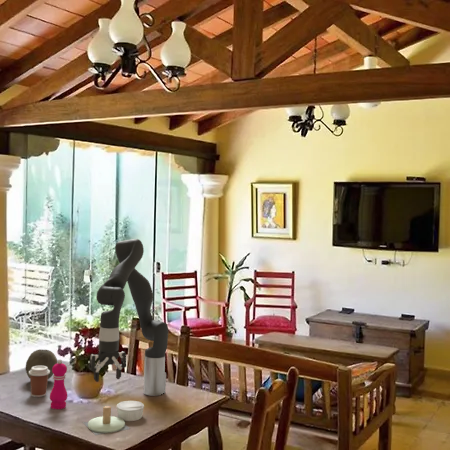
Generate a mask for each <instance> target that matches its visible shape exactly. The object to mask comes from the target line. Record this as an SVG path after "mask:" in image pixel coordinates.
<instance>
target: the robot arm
mask: <svg viewBox="0 0 450 450" xmlns="http://www.w3.org/2000/svg"><path fill="white" fill-rule="evenodd" d="M114 248H115V255H116V257H117V260H118V262H119V263H118V265H116V266H115V267H114V268H113V269H112V271H111V273H110V275H109V277H108V279H107V280H106V281H104V283H103V284H102V285H101V286H99V288H98V290H97V291H96V297H95V298H96V301H97V303H99V304H100V305H101V306H102V305H103V306H113V307H112V309H110V310H104V311H102V312H101V313H100V327H99V332H98V333H99V334H98V335H99V336H98V354H93V353H91V354H90V355H89V366H88V370H90V371H91V372H93V380H94V381H95V382H96V383H99V382H100V370H101V368H104V366H113V365H114V366H115V378H116V379H117V380H120V379H121V378H122V369H125V368H127V353H126V351H123V350H122V351H121V352H119V347H120V345H119V343H120V328H119V327H120V316H121V315H120V314H121V312H122V311H121V310H122V307H123V304H124V301H125V298H126V293H125V291H124V290H125V289H124V288H125V287H126V285H127V284H128V289H129V292H130V295H131V297H132V300H133V303H134V306H135V310H136V313H137V316H138V319H139V320H138V321H139V326H140V330H141V334H142V336H143V338H144V339H146V340H148V341H152V342H153V343H152V347H151V346H150V347H148V348H145V350H144V371H143V373H144V374H143V375H144V376H143V394H144V395H145V396H151V397H153V396H155V397H156V396H158V397H159V396H161V394H162V395H164V394H166V389H167V388H166V387H167V382H166V381H167V372H165V369H166V368H165V366H166V365H165V364H166V363H165V362H166V352H167V349H168V339H169V327H168V324H167V323H166V322H164V321H160V320H155V319H154V318H153V315H152V311H151V307H152V304H153V301H154V292H153V289H152V286H151V284H150V282H149V280H148V278H146V277H145V276H144V274H142V273H141V272H139V271H138V270H137V269H136V267H137V265H138V264H139V263H140V261H141V260H142V258H143V255H144V252H145V250H144V245H143V243H142V241H141V240H140V239H138V238H132V239H125V240H119V241H117V242H116V243H115V247H114ZM119 357H120V362H119V361H118V358H119ZM97 359H98V361H97ZM96 361H97V363H96ZM95 363H96V364H95ZM163 393H164V394H163Z"/></svg>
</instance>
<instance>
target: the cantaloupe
mask: <svg viewBox="0 0 450 450" xmlns="http://www.w3.org/2000/svg"><path fill="white" fill-rule="evenodd" d="M57 363H58V358H57V356H56V354H55V353H53V351H52V350H49V349H36V350H34V351H33V352H32V353H30V355H29V356H28V358H27V360H26V362H25V372H26V375H27V377H28V378H29V379H30V375H29V371H30V370H31V368H32V367H34V366H46V367H48V370H50V374H48V380H50V378H52V376H53V375H54V374H53V372H52V368H53V366H54V365H55V364H57Z"/></svg>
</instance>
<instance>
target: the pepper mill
mask: <svg viewBox="0 0 450 450" xmlns="http://www.w3.org/2000/svg"><path fill="white" fill-rule="evenodd" d="M67 370H68V367H67V366H66V364H65V363H63V361H62V360H61V359H57V364H55V365H54V366H53V368H52V372H53V375H52V376H53V377H52V379H53V387H52V389H51V391H50V394H49V399H50V409H53V410H64V409H65V408H66V407H67V402H66V401H67V400H68V392H67V390H66V389H67V388H66V386H65V379H66V373H67V372H68V371H67Z"/></svg>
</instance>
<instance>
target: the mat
mask: <svg viewBox="0 0 450 450" xmlns="http://www.w3.org/2000/svg"><path fill="white" fill-rule="evenodd" d="M88 422H89V421H84V422H82V424H84V426H86V428H88ZM126 430H127V431H128V430H131V428H130V427H129V426H128V425H126V424H125V426H124V428H123V429H121V430H119V431H115V432H114V433H116V432H123V431H126ZM90 431H91V433H93V434H94V435H95V436H98V435H100V436H101V435H105V434H107V433H101V432H95V431H92V430H90ZM111 433H112V432H109V433H108V434H111Z"/></svg>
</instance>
